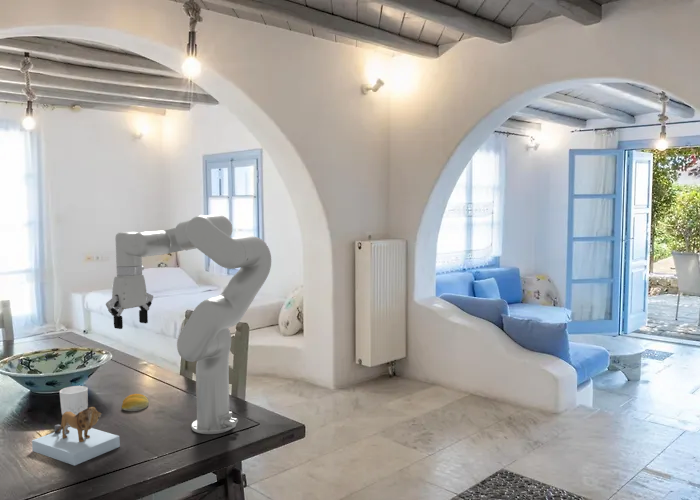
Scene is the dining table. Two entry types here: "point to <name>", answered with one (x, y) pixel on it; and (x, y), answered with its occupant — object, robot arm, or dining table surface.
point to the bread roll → (135, 402)
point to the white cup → (74, 399)
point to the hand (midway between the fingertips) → (131, 325)
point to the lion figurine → (79, 422)
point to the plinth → (75, 445)
